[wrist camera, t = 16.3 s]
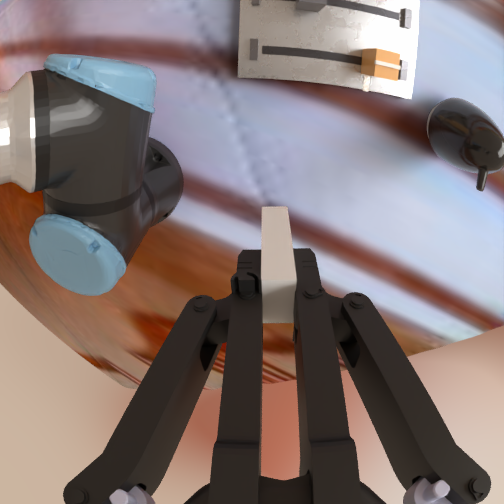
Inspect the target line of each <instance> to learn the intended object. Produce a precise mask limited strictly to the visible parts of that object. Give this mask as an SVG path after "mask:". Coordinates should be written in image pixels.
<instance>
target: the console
mask: <svg viewBox="0 0 504 504" xmlns="http://www.w3.org/2000/svg"><path fill="white" fill-rule="evenodd" d="M418 23H419V0H327V5H326V6H325V7H323V8H322V9H321V10H320V11H319V12H316V11H308V10H298V9H296V0H240V21H239V52H238V78H266V79H282V80H295V81H306V82H315V83H324V84H331V85H338V86H345V87H352V88H358V89H363V91H367V92H368V90H369V91H374V92H379V93H384V94H389V95H394V96H398V97H403V98H407V99H411V96H412V89H413V81H414V73H415V63H416V52H417V40H418ZM369 48H379V49H383V50H387V51H392V52H396V53H399V54H400V64H399V66H401V69H400V70H399V73H398V82H397V81H393V80H389V79H384V78H379V77H374V76H370V75H365V74H361V63H362V51H363V49H369Z"/></svg>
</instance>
